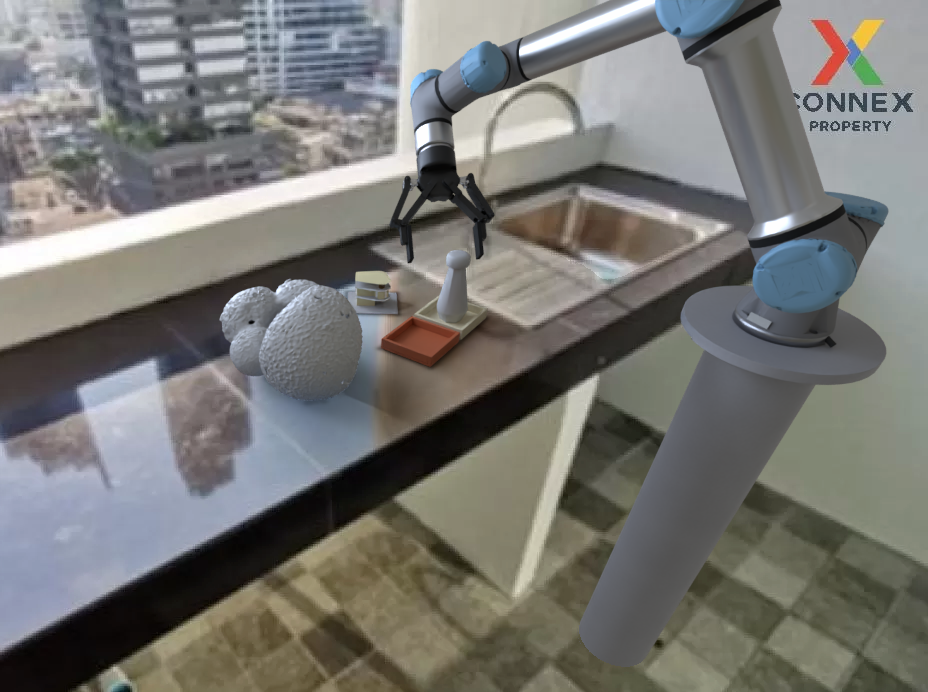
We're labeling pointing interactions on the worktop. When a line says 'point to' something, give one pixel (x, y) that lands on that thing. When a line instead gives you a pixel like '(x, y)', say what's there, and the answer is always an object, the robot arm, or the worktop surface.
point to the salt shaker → (454, 288)
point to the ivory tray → (463, 326)
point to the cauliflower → (295, 338)
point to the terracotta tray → (420, 340)
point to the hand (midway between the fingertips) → (445, 259)
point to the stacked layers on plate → (373, 294)
